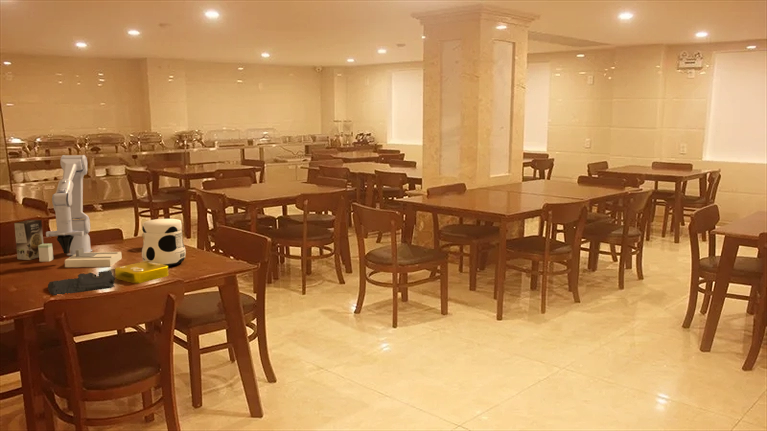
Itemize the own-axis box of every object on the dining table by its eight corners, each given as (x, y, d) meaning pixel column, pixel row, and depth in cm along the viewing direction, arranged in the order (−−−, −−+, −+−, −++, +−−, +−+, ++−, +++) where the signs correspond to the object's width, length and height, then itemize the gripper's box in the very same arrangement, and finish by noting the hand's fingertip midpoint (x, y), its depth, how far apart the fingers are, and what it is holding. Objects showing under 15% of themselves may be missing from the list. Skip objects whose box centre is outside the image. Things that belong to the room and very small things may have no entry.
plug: (43, 259, 268) (42, 243, 267) (53, 259, 268) (52, 243, 267) (39, 261, 264) (38, 245, 263) (49, 261, 265) (47, 245, 263)
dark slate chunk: (46, 287, 228) (45, 274, 227) (111, 279, 239) (110, 267, 238) (49, 297, 215) (48, 284, 214) (117, 288, 226) (116, 276, 226)
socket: (78, 259, 268) (78, 251, 268) (121, 258, 270) (121, 250, 269) (65, 267, 255) (64, 259, 254) (110, 266, 256) (109, 258, 255)
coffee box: (29, 260, 266) (26, 223, 264) (17, 259, 268) (13, 222, 265) (45, 255, 275) (42, 219, 273) (32, 254, 277) (29, 219, 274)
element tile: (171, 276, 243) (170, 264, 242) (137, 285, 231) (136, 272, 230) (147, 270, 251) (146, 259, 250) (113, 279, 239) (112, 266, 238)
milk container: (140, 261, 264) (137, 220, 261) (182, 257, 272) (180, 217, 269) (145, 271, 249) (142, 227, 246) (189, 266, 257) (187, 223, 254)
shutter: (81, 254, 264) (80, 247, 264) (97, 254, 265) (96, 247, 264) (75, 257, 258) (74, 250, 258) (91, 257, 259) (90, 250, 258)
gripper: (41, 223, 254) (44, 255, 256) (78, 222, 255) (80, 254, 257) (49, 220, 261) (51, 251, 263) (84, 219, 262) (87, 251, 264)
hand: (66, 253), depth 261 cm, fingers closed
